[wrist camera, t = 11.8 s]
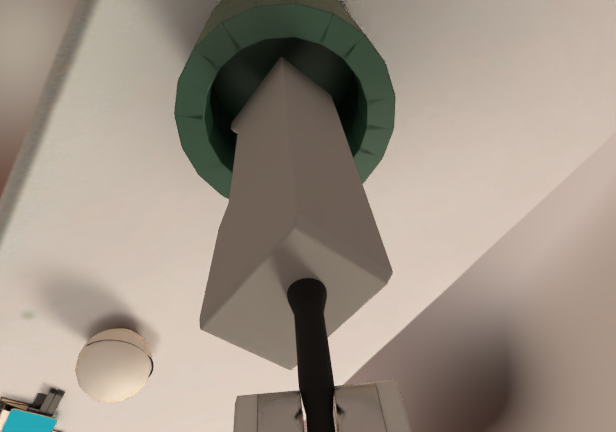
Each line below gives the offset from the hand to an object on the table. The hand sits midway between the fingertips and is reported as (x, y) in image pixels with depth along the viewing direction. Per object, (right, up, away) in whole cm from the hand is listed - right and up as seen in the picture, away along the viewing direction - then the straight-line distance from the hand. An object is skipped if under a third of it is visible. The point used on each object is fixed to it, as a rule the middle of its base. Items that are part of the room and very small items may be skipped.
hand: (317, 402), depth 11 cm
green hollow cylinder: (-2, +16, +25) cm, 30 cm away
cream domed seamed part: (-20, -8, +39) cm, 45 cm away
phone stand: (-34, -23, +48) cm, 64 cm away
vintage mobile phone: (-2, +11, +17) cm, 20 cm away
